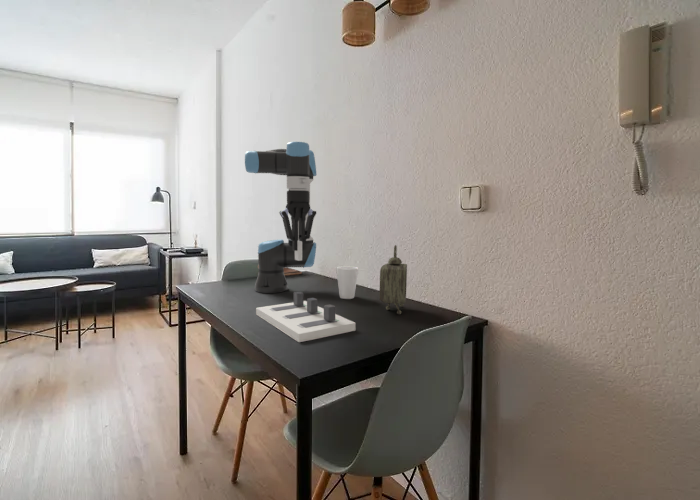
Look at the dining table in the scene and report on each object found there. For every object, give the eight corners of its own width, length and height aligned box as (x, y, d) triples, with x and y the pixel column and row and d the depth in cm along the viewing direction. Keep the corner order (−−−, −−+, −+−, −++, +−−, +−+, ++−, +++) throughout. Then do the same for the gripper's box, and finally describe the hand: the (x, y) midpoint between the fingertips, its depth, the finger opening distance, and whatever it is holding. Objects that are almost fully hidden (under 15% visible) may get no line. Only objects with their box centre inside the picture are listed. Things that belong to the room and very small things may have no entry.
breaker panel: (256, 314, 138) (256, 307, 138) (305, 306, 149) (305, 300, 149) (298, 342, 110) (298, 333, 110) (355, 330, 121) (355, 322, 121)
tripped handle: (307, 311, 132) (307, 298, 131) (313, 310, 133) (313, 297, 133) (311, 313, 129) (311, 300, 129) (317, 312, 131) (317, 299, 130)
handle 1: (293, 304, 141) (293, 292, 141) (299, 303, 142) (299, 291, 142) (297, 306, 139) (297, 294, 138) (303, 305, 140) (303, 293, 139)
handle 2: (323, 319, 123) (323, 305, 122) (330, 317, 124) (330, 304, 124) (328, 321, 121) (328, 307, 120) (335, 320, 122) (335, 306, 121)
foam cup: (350, 300, 160) (350, 270, 158) (332, 297, 165) (332, 268, 163) (361, 296, 168) (362, 267, 166) (343, 293, 173) (344, 265, 171)
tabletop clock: (403, 316, 138) (405, 247, 135) (378, 314, 140) (380, 246, 137) (405, 306, 152) (407, 243, 149) (383, 304, 154) (384, 243, 151)
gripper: (284, 189, 120) (285, 263, 123) (320, 190, 127) (320, 260, 131) (275, 189, 126) (276, 259, 130) (310, 190, 134) (310, 257, 137)
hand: (298, 259), depth 130 cm, fingers closed
